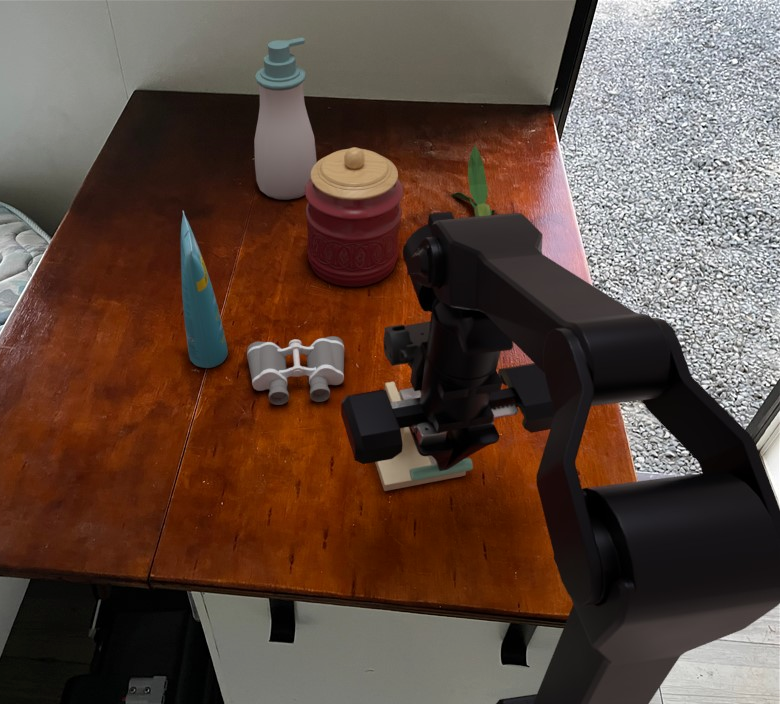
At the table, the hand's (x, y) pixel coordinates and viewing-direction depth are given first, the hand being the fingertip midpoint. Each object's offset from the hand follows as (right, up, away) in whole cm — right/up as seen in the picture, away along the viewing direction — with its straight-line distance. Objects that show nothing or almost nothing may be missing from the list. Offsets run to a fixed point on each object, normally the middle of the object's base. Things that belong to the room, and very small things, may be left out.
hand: (441, 466), depth 68 cm
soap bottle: (-16, +38, +48) cm, 63 cm away
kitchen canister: (-7, +24, +34) cm, 42 cm away
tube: (-25, +11, +22) cm, 35 cm away
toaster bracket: (-2, +1, +11) cm, 12 cm away
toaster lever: (-1, +2, +5) cm, 5 cm away
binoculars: (-14, +8, +18) cm, 24 cm away
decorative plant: (+12, +25, +34) cm, 44 cm away
